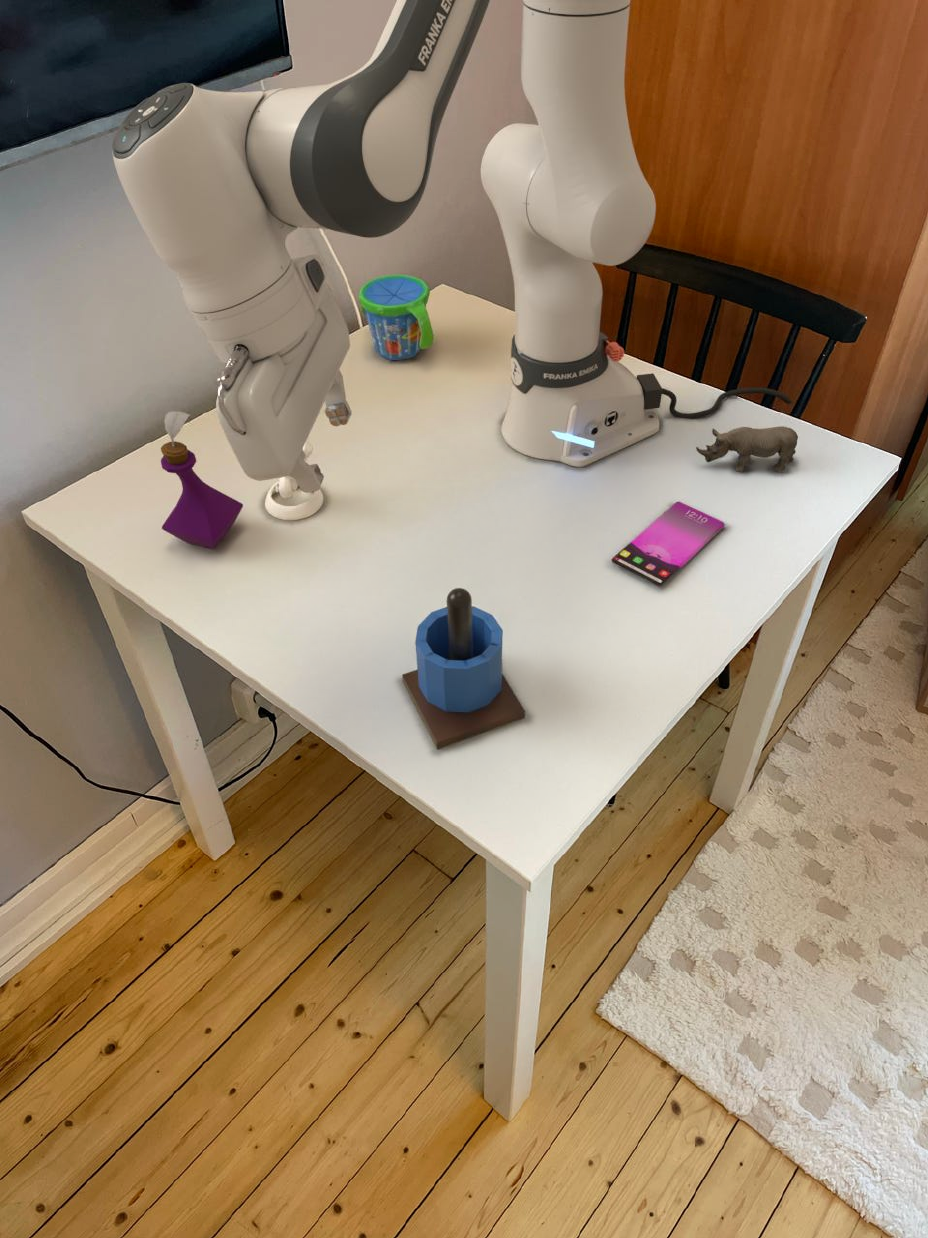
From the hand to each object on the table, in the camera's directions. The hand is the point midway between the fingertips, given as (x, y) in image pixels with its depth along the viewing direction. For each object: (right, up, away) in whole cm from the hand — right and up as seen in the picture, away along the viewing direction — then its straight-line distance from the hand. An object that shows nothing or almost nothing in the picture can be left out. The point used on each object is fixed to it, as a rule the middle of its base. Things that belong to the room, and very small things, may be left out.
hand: (329, 452), depth 85 cm
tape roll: (+12, -21, +18) cm, 30 cm away
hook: (-10, +1, +42) cm, 43 cm away
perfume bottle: (-21, -4, +37) cm, 43 cm away
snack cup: (+2, +28, +68) cm, 73 cm away
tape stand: (+12, -23, +18) cm, 32 cm away
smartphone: (+37, -6, +34) cm, 51 cm away
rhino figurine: (+50, +6, +45) cm, 68 cm away
